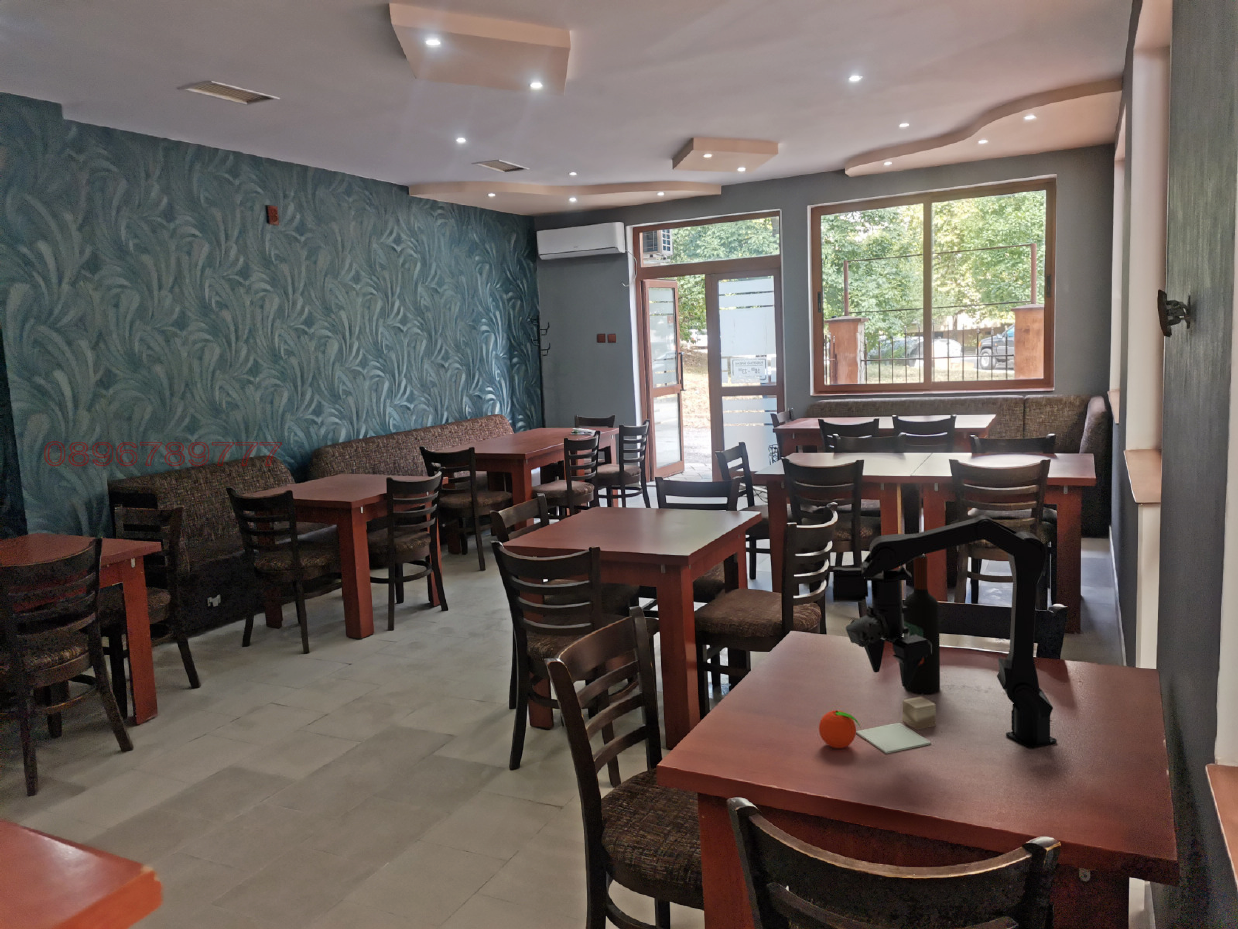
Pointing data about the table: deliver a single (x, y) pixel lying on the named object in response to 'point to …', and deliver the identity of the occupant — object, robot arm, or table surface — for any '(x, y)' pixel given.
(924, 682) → the wine bottle
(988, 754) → the table surface
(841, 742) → the clementine
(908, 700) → the sandy foam cube
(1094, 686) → the table surface
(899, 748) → the pad
